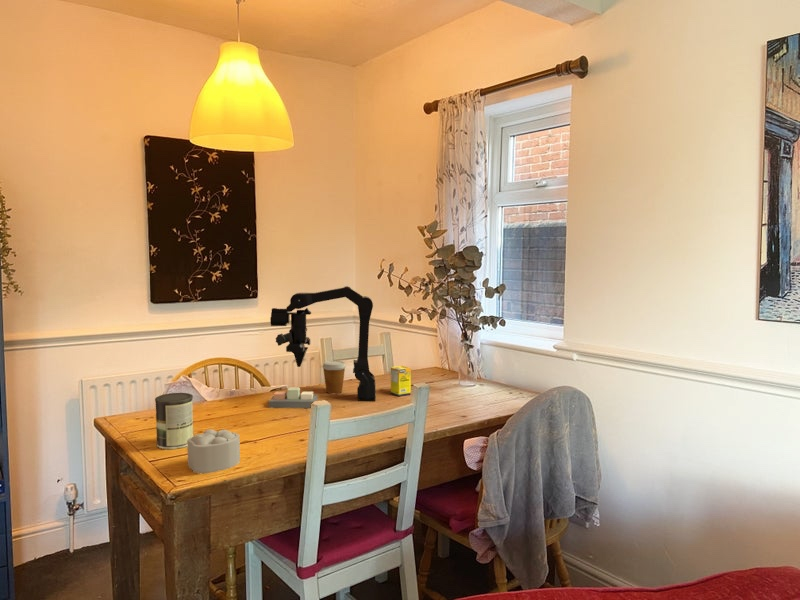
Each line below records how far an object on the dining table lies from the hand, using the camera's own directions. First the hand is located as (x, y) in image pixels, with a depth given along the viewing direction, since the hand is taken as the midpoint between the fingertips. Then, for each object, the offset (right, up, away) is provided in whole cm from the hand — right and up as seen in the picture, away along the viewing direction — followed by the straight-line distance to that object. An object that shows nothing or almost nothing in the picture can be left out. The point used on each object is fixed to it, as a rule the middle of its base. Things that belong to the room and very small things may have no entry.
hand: (298, 366), depth 216 cm
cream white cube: (+4, -13, -5) cm, 15 cm away
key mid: (-1, -12, -5) cm, 13 cm away
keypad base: (-1, -13, -5) cm, 14 cm away
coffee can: (-28, -17, -49) cm, 59 cm away
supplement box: (+39, -13, +11) cm, 42 cm away
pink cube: (-6, -13, -5) cm, 15 cm away
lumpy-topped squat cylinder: (-11, -19, -65) cm, 68 cm away
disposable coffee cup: (+12, -12, +14) cm, 22 cm away
